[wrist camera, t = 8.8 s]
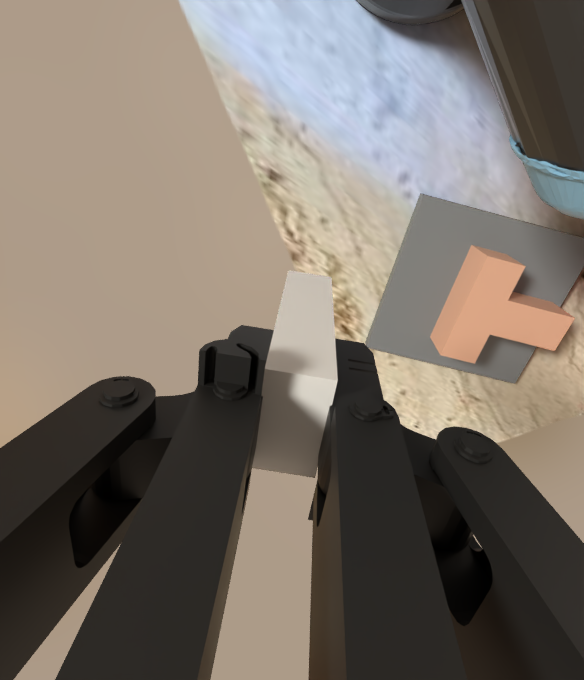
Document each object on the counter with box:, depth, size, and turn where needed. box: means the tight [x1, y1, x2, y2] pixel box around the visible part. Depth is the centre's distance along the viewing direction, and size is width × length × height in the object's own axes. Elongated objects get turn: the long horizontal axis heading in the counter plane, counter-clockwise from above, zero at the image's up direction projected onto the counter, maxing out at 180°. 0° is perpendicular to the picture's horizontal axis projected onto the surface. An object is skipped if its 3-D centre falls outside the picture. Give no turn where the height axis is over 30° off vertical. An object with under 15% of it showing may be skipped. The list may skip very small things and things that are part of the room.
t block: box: [430, 245, 575, 364], centre depth 39 cm, size 10×10×4 cm
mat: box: [365, 193, 584, 384], centre depth 41 cm, size 16×17×1 cm
